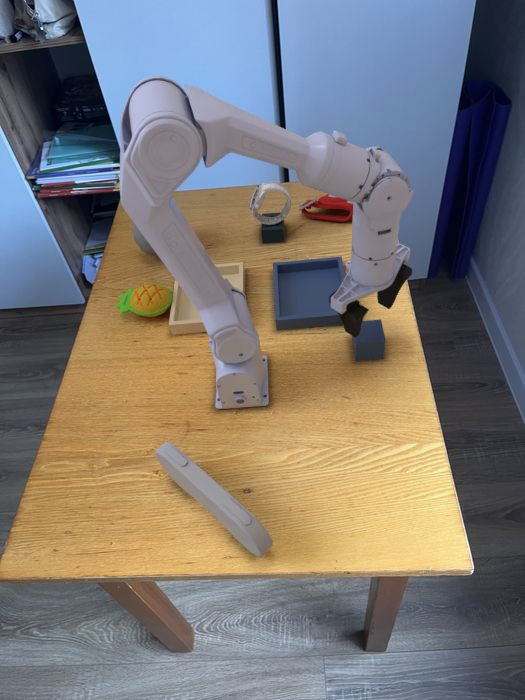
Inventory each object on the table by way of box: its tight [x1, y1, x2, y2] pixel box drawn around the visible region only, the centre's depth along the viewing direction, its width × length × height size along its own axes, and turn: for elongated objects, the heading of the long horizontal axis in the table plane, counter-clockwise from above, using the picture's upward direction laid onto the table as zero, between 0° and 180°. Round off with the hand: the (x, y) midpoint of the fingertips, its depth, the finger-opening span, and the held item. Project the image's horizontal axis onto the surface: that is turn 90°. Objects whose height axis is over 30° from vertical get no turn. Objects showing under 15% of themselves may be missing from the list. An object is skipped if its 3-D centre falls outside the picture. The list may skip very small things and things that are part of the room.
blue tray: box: [272, 256, 346, 331], centre depth 89 cm, size 15×13×2 cm
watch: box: [249, 181, 292, 244], centre depth 99 cm, size 6×8×11 cm
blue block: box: [351, 318, 387, 362], centre depth 80 cm, size 4×4×4 cm
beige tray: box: [168, 261, 246, 336], centre depth 91 cm, size 15×13×2 cm
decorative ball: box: [131, 221, 159, 257], centre depth 99 cm, size 10×10×10 cm
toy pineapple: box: [115, 283, 173, 318], centre depth 90 cm, size 7×10×5 cm
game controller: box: [154, 441, 274, 558], centre depth 64 cm, size 20×2×8 cm, turn 47°
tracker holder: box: [298, 193, 353, 223], centre depth 104 cm, size 12×4×10 cm
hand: (368, 318), depth 76 cm, fingers open, 7 cm apart
